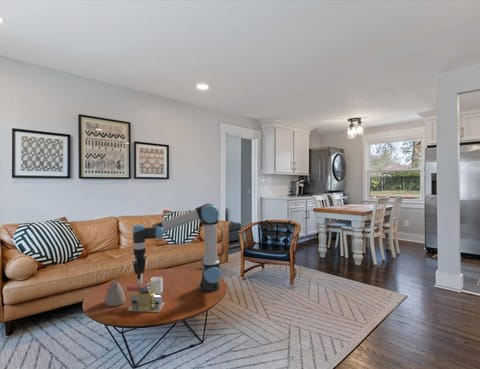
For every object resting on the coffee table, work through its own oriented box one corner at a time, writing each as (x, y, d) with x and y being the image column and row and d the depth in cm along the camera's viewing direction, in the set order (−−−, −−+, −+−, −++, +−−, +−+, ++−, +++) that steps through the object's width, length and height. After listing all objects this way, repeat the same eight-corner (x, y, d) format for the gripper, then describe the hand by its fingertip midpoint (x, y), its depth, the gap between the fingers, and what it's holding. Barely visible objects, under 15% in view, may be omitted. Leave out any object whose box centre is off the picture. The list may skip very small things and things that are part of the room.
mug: (147, 297, 193) (147, 282, 192) (143, 293, 199) (143, 279, 199) (164, 293, 200) (164, 279, 199) (160, 289, 206) (160, 275, 206)
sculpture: (101, 307, 177) (101, 284, 177) (108, 299, 189) (108, 277, 189) (122, 306, 178) (122, 283, 178) (128, 298, 190) (128, 277, 190)
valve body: (164, 303, 184) (165, 288, 183) (158, 312, 172) (158, 296, 171) (135, 302, 185) (135, 287, 185) (127, 310, 173) (127, 295, 173)
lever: (151, 290, 180) (151, 286, 180) (148, 292, 176) (148, 288, 176) (129, 288, 182) (129, 284, 182) (126, 291, 178) (126, 287, 178)
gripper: (140, 245, 192) (140, 279, 193) (128, 250, 180) (129, 286, 180) (149, 246, 191) (150, 279, 191) (138, 251, 178) (139, 287, 179)
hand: (140, 283), depth 186 cm, fingers closed
